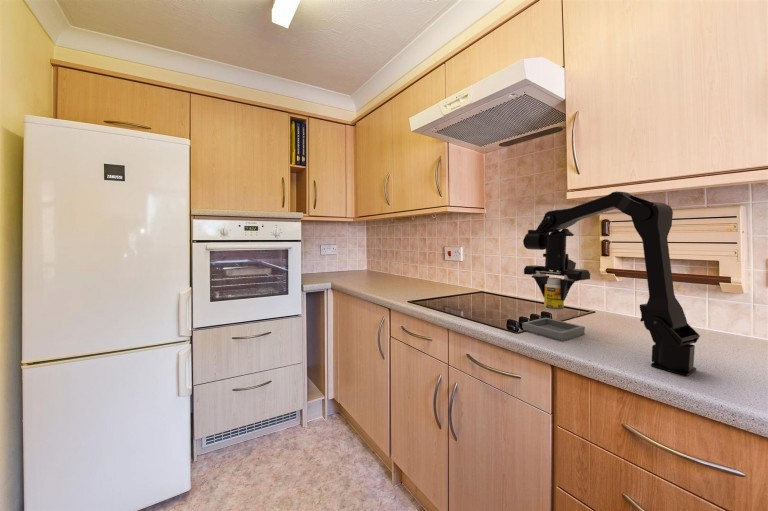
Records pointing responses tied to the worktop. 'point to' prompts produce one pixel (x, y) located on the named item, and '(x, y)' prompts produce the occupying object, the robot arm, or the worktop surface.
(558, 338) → the tray
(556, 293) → the supplement bottle
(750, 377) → the worktop surface
